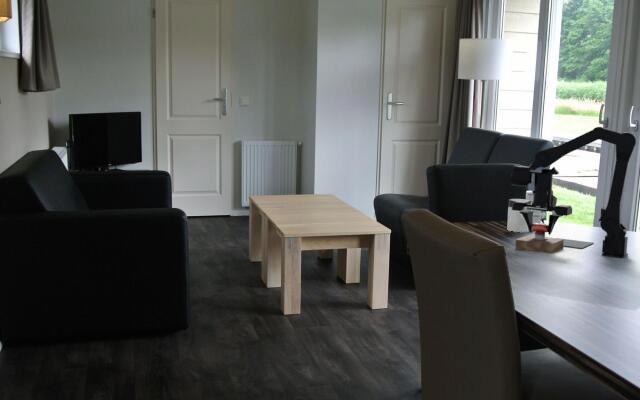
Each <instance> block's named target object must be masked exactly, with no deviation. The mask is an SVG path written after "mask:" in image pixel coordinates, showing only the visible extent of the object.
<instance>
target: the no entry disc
mask: <svg viewBox="0 0 640 400" xmlns="http://www.w3.org/2000/svg"><path fill="white" fill-rule="evenodd" d="M548 227H549V223H544V224H543V223H542V222H541V223H533V224H531V231H532V232H534V233H535V234H534V236H535V240H539V241H545V237H546V233H548Z"/></svg>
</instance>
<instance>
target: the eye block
mask: <svg viewBox="0 0 640 400" xmlns="http://www.w3.org/2000/svg"><path fill="white" fill-rule="evenodd" d="M558 238H559V237H556V238H555V237H549V236H545V241H539V240H535V234H533V235H532V234H528V235H524V236H523V237H519V238H517V239H515V245H514V246H515V249H517V250H526V251H530V252H531V251H533V252H538V253H545V254H546V253H547V254H553V253H555V252H557V251H559V250H562V249H564V247H563V242H564V239H565V238H561V239H558Z"/></svg>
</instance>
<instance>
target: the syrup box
mask: <svg viewBox="0 0 640 400" xmlns="http://www.w3.org/2000/svg"><path fill="white" fill-rule="evenodd" d="M532 192H533V190H526V192H525V199H526V200H530V201H531V204H532V203H533V196H534V194H533V193H532ZM538 207H540V206H538ZM531 211H534V212H533V223H541V224H542V221H541V213H542V211H539V210H531Z"/></svg>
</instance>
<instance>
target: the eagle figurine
mask: <svg viewBox="0 0 640 400" xmlns="http://www.w3.org/2000/svg"><path fill="white" fill-rule="evenodd" d="M546 216H547V213H546V211H542V212H541V223H542V224H543V223H544V224H545V220H546V219H547V218H546Z"/></svg>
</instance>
